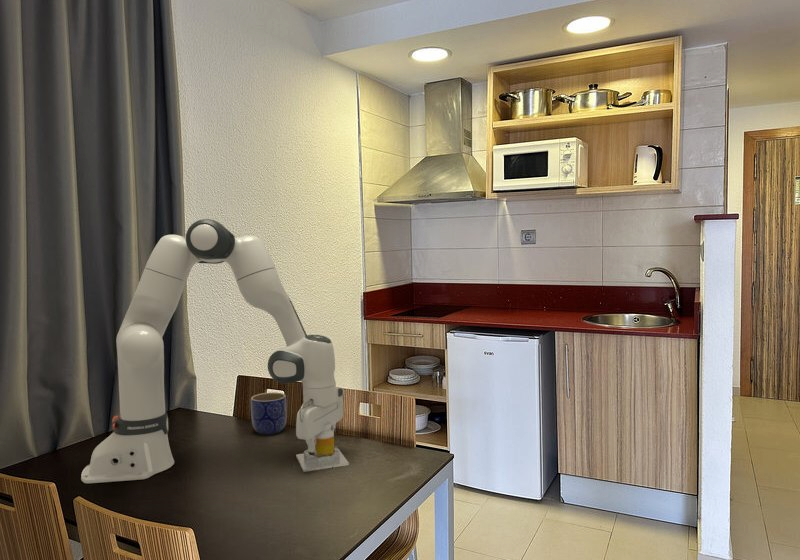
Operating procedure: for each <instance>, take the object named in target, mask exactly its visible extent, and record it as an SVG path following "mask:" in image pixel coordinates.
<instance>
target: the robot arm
mask: <svg viewBox="0 0 800 560" xmlns="http://www.w3.org/2000/svg"><path fill="white" fill-rule="evenodd" d="M146 261H147V262H146V264H145V266H144V269H143V271H142V274H141V277H140V280H139V282H138V284H137V288H136V290H135V293H134V295H133V297H132V300H131V302H130V304H129V306H128V309H127V310H126V313H125V316H124V318H123V320H122V322H121V325H120V327H119V330H118V332H117V335H116V338H115V339H116V340H115V342H116V353H117V354H116V355H117V356H116V357H117V370H118V371H117V372H118V393H119V394H118V395H119V411H120V412H119V413H120V415H114V416H113V417H112V421H111V423H112V433H111V434H110V435H109V436H108V437H106V438H104V440H103V441H101V442H100V443H99V444H98V445H96V446H95V448H94V449H93V451H92V454H91V458H90V463H89V464H87V465H86V466H85V467H84V468H83V470H82V472H81V475H80V476H81V477H80V480H81V482H83V484H98V483H112V482H124V481H137V480H138V481H139V480H146V479H149V478H150V477H152V476H154V475H156V474H158V473H162V472H163V471H166V470H168V469H170V468H172V466H173V465H174V464H175V459H174V457H173V454H172V450H171V447H170V443H169V437H168V433H169V417H168V413H167V411H166V400H165V398H166V397H165V346H164V340H163V339H164V338H163V337H164V334H165V332H166V330H167V327H168V325H169V323H170V321H171V319H172V317H173V315H174V313H175V312H176V310H177V307H178V306H179V305H178V304H179V303H180V302H179V301H180V299H181V296H182V294H183V291H184V289H185V286H186V284H187V281H188V277H189V275H190V272H191V271H192V269H193V267H194V265H196V264H197V263H198V264H211V265H212V264H213V265H214V264H217V265H218V264H223V263H227V264H228V266H229V267H230V269H231V270H232V273H233V275H234V278H235V281H236V284H237V287H238V289H239V292H240V294H241V295H242V297H243V299H244V300H245V302H246V303H247V304H249V305H250V306H252V307H254V308H256V309H259V310H262V311H264V312H266V313H268V314H269V315H271V316H272V317H273V319H274V321H275V322H276V324H277V327H278V329H279V331H280V332H281V335H282V338H283V339H284V342H285V344H286V346H284V347H281V348H280V349H278V350H276V351H275V352H273V353H271V355H270V357H269V358H268V361H267V371H268V374H269V376H270V377H271V379H272V380H273V381H275V382H276V383H278V384H283V385H284V384H291V383H297V382H301V383H302V398H303V399H302V400H303V401H302V404H301V407H300V409H299V410H298V411H297V414H296V424H295V435H296V438H297V439H298V440H304V441H305V442H306V445H307V449H308V451H309V452H315V451H316V450H317V444H315V443H314V440H315V436H316V435H317V434H319V433H320V432H322V431H323V429H324V425H326V424H327V423H329V422H330V423H331V429H330V430H332V431H333V432H335V429H336V424H337V423H338V422H340V421H341V420H342V419H343V416H344V397H343V396H344V395H345V389H344V387H342V386H341V387H340V386H337V383H336V379H335V371H336V359H335V358H336V357H335V356H336V355H335V349H334V344H333V342H332V340H331V339H330V338H329V337H327V336H325V335H320V334H307V333H306V330H305V328H304V326H303V323H302V320H301V319H300V317H299V315H298V313H297V310H296V308H295V306H294V303H293V302H292V300H291V298H290V297H289V295H288V293H287V292H286V289H285V288H284V285H283V284H282V281H281V279H280V277H279V274H278V273H279V272H278V271H277V268H276V267H275V264H274V261H273V259H272V257H271V254H270V253H269V251H268V249H267V247H266V245H265V243H264V242H263V241H262V239H261V238H260V237H258V236H255V235H242V236H239V237H235V234H233V233H232V232H231V231H230V230H229V229H228V227H226V226H225V225H224V224H222V223H220V222H218V221H217V220H214V219H212V218H211V219H210V218H205V219H204V218H203V219H199V220H197V221H194V222H193V223H192V224H191V225H190V226H189V227H188V228H187V230H186V233H185V236H182V235H179V234H167V235H163V236H162V237H161V238H160V239H159V240H158V241H157V243H156V244H155V247H154V248H153V250H152V252H151V253H150V255H149V258H148V260H146Z"/></svg>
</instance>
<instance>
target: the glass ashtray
mask: <svg viewBox="0 0 800 560" xmlns="http://www.w3.org/2000/svg"><path fill="white" fill-rule="evenodd" d="M295 456H296V457H295V458H296V459H297V461H298V463H299V465H300V467H301V469H302V471H303V472H304V473H305V472H311V471H319V470H326V469H331V468H332V467H333V468H340V467H346V466H349V465H350V462H349V461H348V460H347V458H346V457H345V456H344V454H343V453H342V452H341V450H340V449H339V448H338V447H337V446H334V453H332V454H330V455H325V456H314V452H309V451H308V448H307V449H306V450H304V451H303V453H298V454H295ZM333 468H332V469H333Z"/></svg>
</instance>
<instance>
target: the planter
mask: <svg viewBox="0 0 800 560" xmlns="http://www.w3.org/2000/svg"><path fill="white" fill-rule="evenodd" d="M286 396H287V395H286V394H285V393H282V392H262V393H258V394H255V395H253V396H251V397H250V414H251V415H250V416H251V424H252V427H253V430H255V432H257V434H260V435H264V436H265V435H274V434H278V433H280V432H281V431H282V430H283V429H285V426H286V424H287V415H288V414H287V397H286Z"/></svg>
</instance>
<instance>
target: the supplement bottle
mask: <svg viewBox="0 0 800 560" xmlns="http://www.w3.org/2000/svg"><path fill="white" fill-rule="evenodd" d="M330 429H331V423H330V422H329V423H327V424H326V425H324V429H323V431H322V432H320V433H319V434H317V435H316V436H315V440H314V443H315V444H317V450H316V451H315V452H314V456H325V455H330V454H332V453H334V447H335V433H334V432H335V431H334V432H333V431H332V430H330Z"/></svg>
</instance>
